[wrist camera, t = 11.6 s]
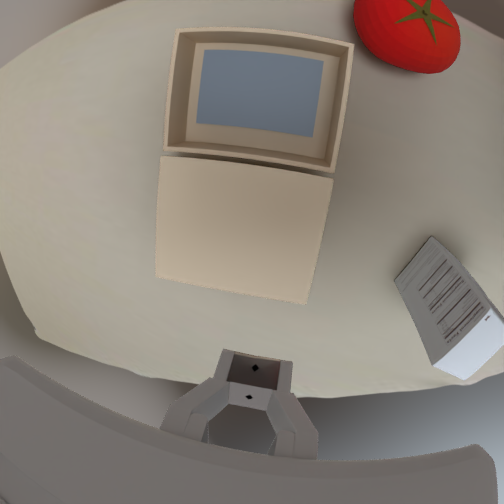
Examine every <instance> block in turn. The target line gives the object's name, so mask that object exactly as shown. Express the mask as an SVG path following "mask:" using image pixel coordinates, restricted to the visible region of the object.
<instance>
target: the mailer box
mask: <svg viewBox="0 0 504 504" xmlns="http://www.w3.org/2000/svg"><path fill="white" fill-rule="evenodd" d="M353 52H354V44H352V43H348V42H344V41H339V40H335V39H330V38H326V37H320V36H315V35H310V34H303V33H297V32H290V31H282V30H273V29H261V28H245V27H196V28H180V29H176V30H175V36H174V43H173V49H172V56H171V64H170V72H169V80H168V89H167V100H166V111H165V125H164V141H163V151H175V152H188V153H200V154H210V155H220V156H229V157H237V158H245V159H253V160H260V161H267V162H273V163H280V164H286V165H292V166H297V167H303V168H308V169H314V170H319V171H324V172H329V173H333V174H334V172H335V167H336V162H337V157H338V151H339V146H340V140H341V135H342V129H343V123H344V117H345V111H346V105H347V98H348V91H349V84H350V77H351V69H352V61H353Z"/></svg>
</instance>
